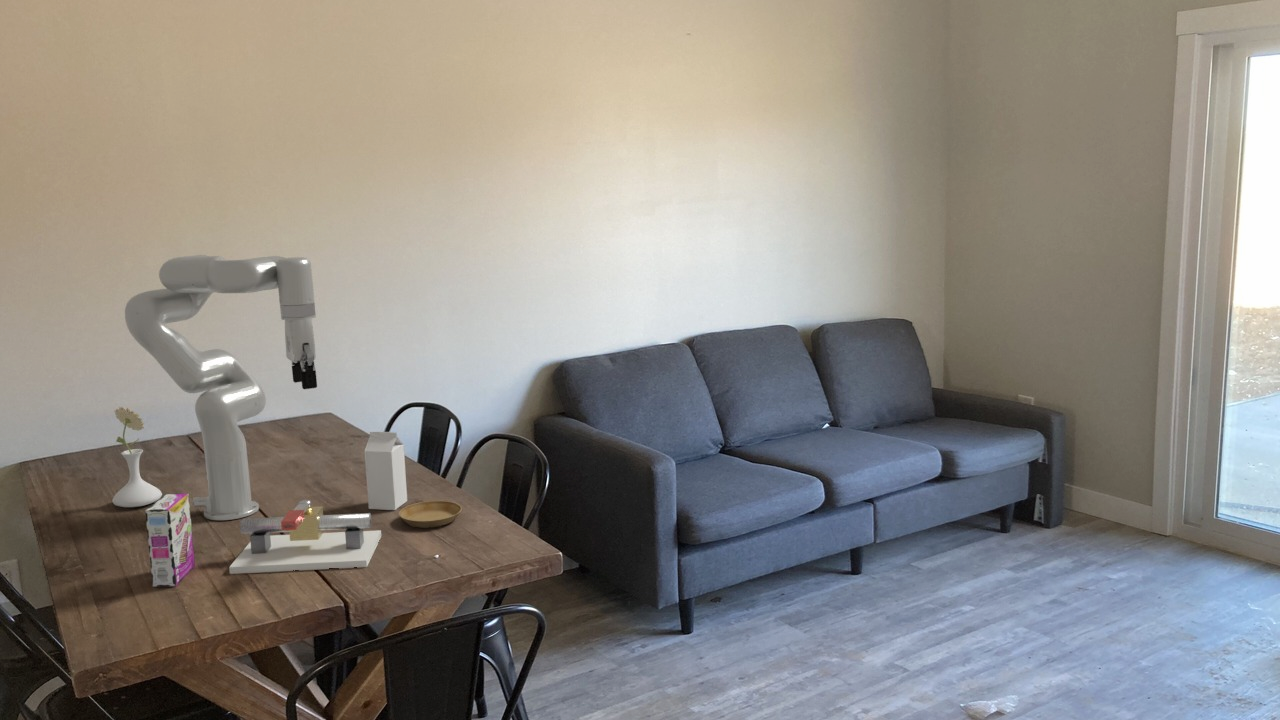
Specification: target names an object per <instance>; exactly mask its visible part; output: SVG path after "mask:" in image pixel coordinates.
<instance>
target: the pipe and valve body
mask: <svg viewBox="0 0 1280 720" xmlns="http://www.w3.org/2000/svg"><path fill="white" fill-rule="evenodd" d="M296 507H297V506H296ZM296 507H293V509H292V510H294V509H295V508H296ZM284 517H285V516H278V517H277V516H276V517H256V518H241V520H240V524H239V529H240V533H241V534H242V535H245V534H248V535H249V534H250V535H249V539H250V542H251V552H252V554H261V553H267V551H268V550H269V549H270V547H271V539H270V536H271V534H272V533H288V532H289V534H288V535H290V541H301V540H319V538H320V537H321V535H322V534H323V533H325V531H331V530H333V531H335V530H345V531H344V532H345V537H346V549H361V547H362V545H363V543H364V535H363V531H364V529H371V526H372V514H371V512H368V513H367V512H365V513H344V514H343V513H342V514H324V506H323V505H321V506H311V507H309V508H308V509H307V511H306V512H305V513H304V519H303V521H302V522H301V523H300V525H299V526H298V527H297V529H296V530H282V527H281V521H282V520H283V519H284ZM250 542H249V543H250Z"/></svg>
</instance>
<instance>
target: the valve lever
mask: <svg viewBox="0 0 1280 720" xmlns="http://www.w3.org/2000/svg"><path fill="white" fill-rule="evenodd" d="M311 503H312V502H311V500H310V499H302V500H299V501H298V504H297V505H296V508H295V507H294V508H295V509H294V508H293V509H294V510H293V509H291V510H289V511H288V512H287V514H286V515H285V516H283V517H284V519H283V520H282V521H281V527H282V530H296V529H297V527H298V526H299V525H300V523H301V522H302V521H303V519H304V513H305V512H306V511H307V509H308V508H309V507H312V504H311Z"/></svg>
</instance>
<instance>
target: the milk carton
mask: <svg viewBox="0 0 1280 720" xmlns="http://www.w3.org/2000/svg"><path fill="white" fill-rule="evenodd" d="M404 448H405V445H404V443H403V442H402V441H401V439H400V438H399V437H398V433H397V432H395V431H373V430H371V431H369V437H368V440H367V443H366V446H365V448H364V463H365V475H366V489H367V492H366V493H367V502H368V509H369V510H381V511H382V510H385V511H396V510H398V508H400V507H401V506H402V505H404V504H405V503H407V502H408V490H407V489H408V487H407V477H406V476H407V475H406V473H407V472H406V463H405V462H406V461H405V460H406V458H405V449H404Z"/></svg>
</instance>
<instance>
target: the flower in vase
mask: <svg viewBox="0 0 1280 720" xmlns="http://www.w3.org/2000/svg"><path fill="white" fill-rule="evenodd" d="M114 413H115V418H116V419H118V420H119V422H120V423H122V424H123V426H124V428H123V432H122V437H121V436H117V439H116V443H120V444H122V445H125V446H126V447H127V450H124V451H122V452H121V453H120V455H122V456H123V458H124V459H125V461H126V463H127V466H128V472H129V480H128V482H127V483H126V484H125V485H124V486H123V487H122V488H120V489H119V490H118V491H117V492H116V493H115V494H114V496H113V497H112V504H113V505H114V506H116V507H122V508H137V507H142V506H146V505H150V504H153V503H156V502H157V501H159V500H160V499H161V498H162V497H163V493H162V491H161V490H160V488H158V487H157V486H154V485H152V484H151V483H149V482H147V481H145V480H144V479H142V477H141V475H140V458H141V456H142V454H143V452H144V450H143V449H142V448H134V449H131V448H130V446H132V445H134V444H135V443H136V442H138V441H139V440H140V439H139V438H137V439H136V440H135V441H133V442H130V444H128V443H127V440H126V439H125V438H126V437H125V433H126V428H129V429H131V430H133V431H139V432H140V431H141V430H142V429H145V427H144V425H145V423H144V422H143V419H142V418H140V414H138V413H135V411H134V410H131V409H130V407H126V408H124V407H123V406H119V407H118V408H116V409H115V410H114Z"/></svg>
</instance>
